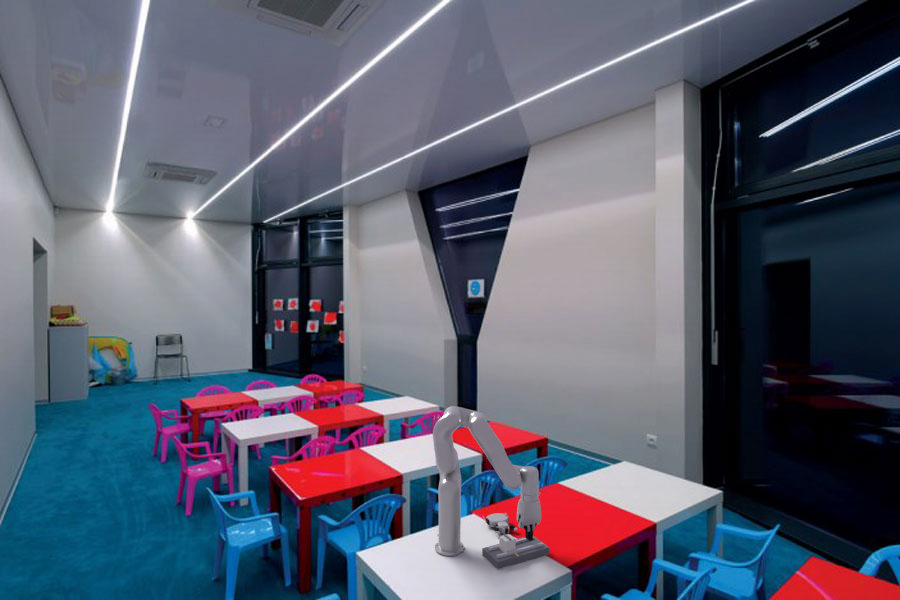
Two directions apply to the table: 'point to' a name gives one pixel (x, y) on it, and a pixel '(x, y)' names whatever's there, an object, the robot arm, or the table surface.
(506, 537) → the fader tab
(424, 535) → the table surface
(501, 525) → the robot toy
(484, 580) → the table surface
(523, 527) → the robot arm
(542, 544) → the grey slider rail base
